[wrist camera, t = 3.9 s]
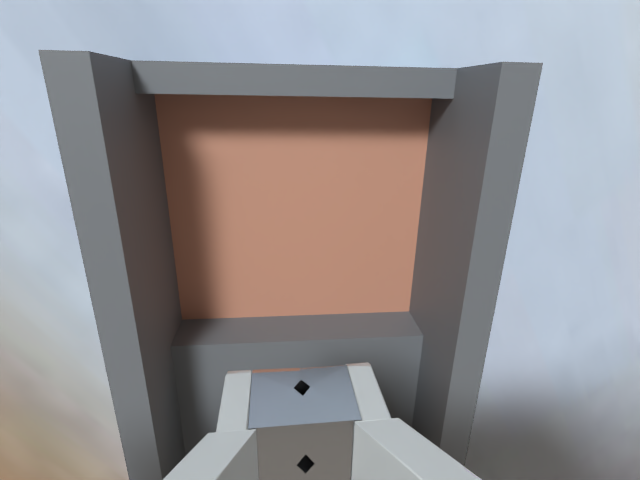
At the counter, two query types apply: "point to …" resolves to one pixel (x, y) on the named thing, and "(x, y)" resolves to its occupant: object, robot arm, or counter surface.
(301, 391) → the robot arm
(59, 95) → the box
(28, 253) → the counter surface
